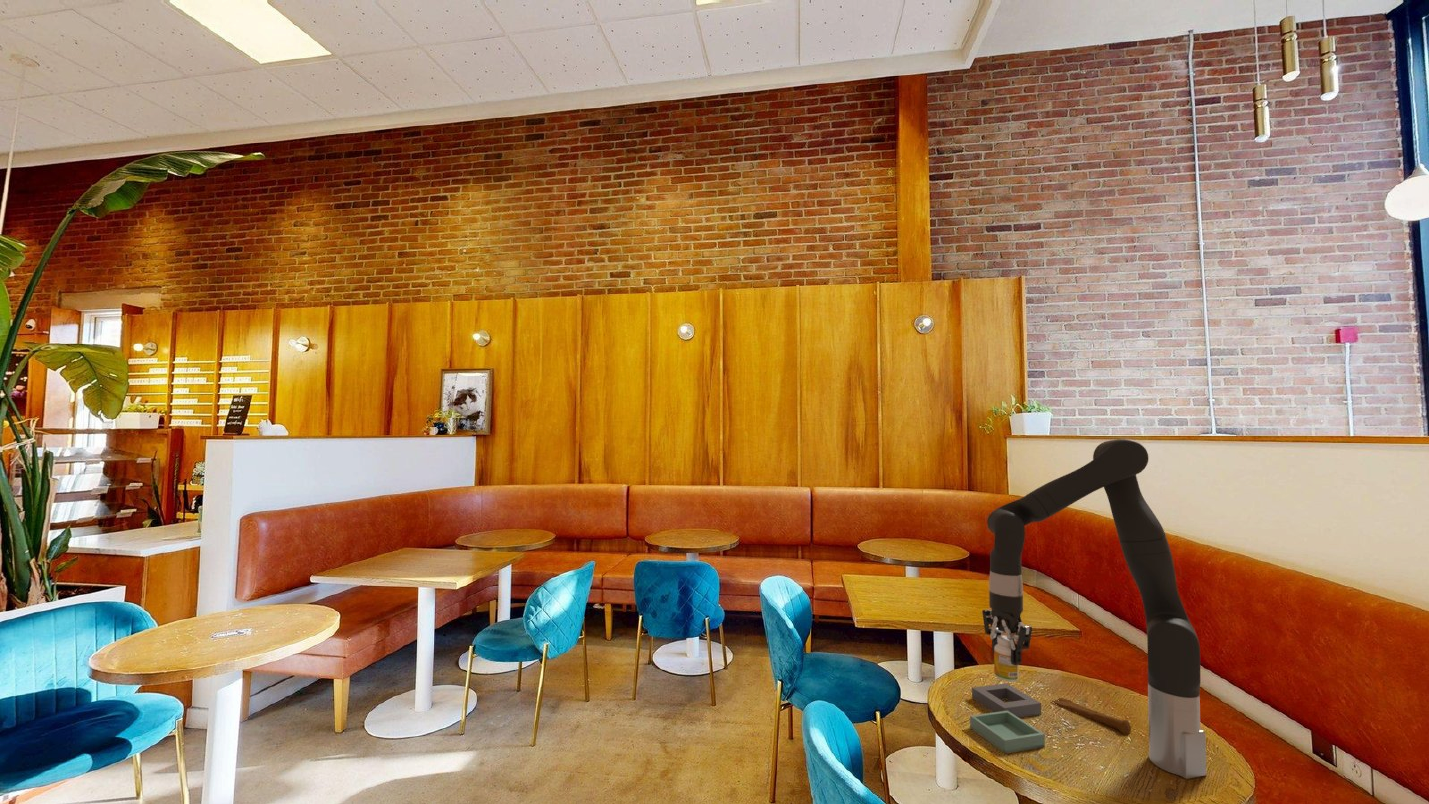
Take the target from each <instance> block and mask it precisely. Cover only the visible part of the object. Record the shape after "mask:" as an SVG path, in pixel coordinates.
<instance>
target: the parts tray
mask: <svg viewBox="0 0 1429 804" xmlns="http://www.w3.org/2000/svg"><path fill="white" fill-rule="evenodd" d="M969 716H970V717H969V720H970V721H969V728H970V729H971V730H972V731H974V732H975V733H976V734H978V735H979V736H981V737H982V738H983V739H985V740H986V741H987V742H989V744H992V745H993V746H994V745H995V746H994V747H995V748H997V749H998V748H999V749H998V750H999V751H1001V752H1002V751H1003V752H1002V753H1004V754H1005V753H1006V754H1011V753H1017V752H1022V751H1028V750H1029V751H1030V750H1034V749H1035V750H1036V749H1040V748H1045V747H1046V743H1045V742H1046V740H1045V739H1046V734H1045V733H1043V732H1042V731H1040V730H1039V729H1037V728H1036V727H1035V726H1032V725H1031V724H1030V723H1027V722H1026V721H1024V720H1023V719H1022V718H1018V717H1017V716H1015V715H1014V714H1012V713H1011V712H1009V711H1000V712H988V713H980V714H975V715H974V714H973V715H969Z"/></svg>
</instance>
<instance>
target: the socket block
mask: <svg viewBox="0 0 1429 804" xmlns="http://www.w3.org/2000/svg"><path fill="white" fill-rule="evenodd" d="M971 699H972V700H974V701H975V702H977V703H978V704H980V705H981V706H983V707H984V708H986V709H987V710H989V711H990V712H991V713H993V712H1000V711H1009V712H1011V713H1012V714H1014V715H1015V716H1017V717H1018V718H1020V719H1022V718H1027V717H1032V716H1034V715H1035V716H1039V715H1042V702H1040V701H1039V700H1036V699H1035V698H1033V697H1031V696H1030V695H1028V694H1027V693H1025V692H1023V691H1021V690H1019V689H1018V688H1016V687H1014V686H1012V685H1010V684H1009V683H1007V682H1005V683H997V684H990V685H983V686H982V685H981V686H976V687H975V686H974V687H971ZM1003 700H1007V701H1008V702H1004V701H1003Z"/></svg>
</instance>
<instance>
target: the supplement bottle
mask: <svg viewBox="0 0 1429 804" xmlns="http://www.w3.org/2000/svg"><path fill="white" fill-rule="evenodd" d="M997 643H998V644H996V645H995V647H994V654H993V655H994V656H993V658H994V659H993V664H994V667H993V669H994V671H993V674H994V676H995V677H996V678H997V679H998V680H1000V681H1005V682H1009V683H1011V682H1012V683H1015V682H1018V681H1019V677H1020V676H1019V670H1020V668H1019V667H1020V666H1019V665H1013V664H1012V663H1011V649H1012V648H1011V644H1010V641H1009V639H1007V636H1006V634H1004V635H1003V634H1002V635H999V636H997Z"/></svg>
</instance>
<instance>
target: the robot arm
mask: <svg viewBox="0 0 1429 804" xmlns="http://www.w3.org/2000/svg"><path fill="white" fill-rule="evenodd" d="M1148 463H1149V454H1148V450H1147V448H1146V447H1144V445H1142V444H1141V443H1140V442H1138V441H1136V440H1133V439H1129V438H1128V439H1127V438H1118V439H1113V440H1106V441H1104V442H1101V443H1099V444H1098V445H1097V446H1096V447H1095V449H1094V451H1093V455H1092V460H1091V461H1089V462H1088V463H1086V464H1084V465H1083V466H1080V468H1078V469H1075V470H1074V471H1071V472H1069V473H1067V474H1065V475H1062V476H1060V477H1057V478H1055V479H1053V480H1050V481H1049V482H1047V483H1045V484H1043V485H1041V486H1039V487H1037V488H1036V489H1034V490H1033V491H1030V492H1029V493H1027V494H1026V495H1024V496H1023V497H1021V498H1019V499H1016V500H1013V501H1011V502H1007V504H1004V505H1001V506H1000V507H997V508H996V509H994V510H993V511H992V512H991V513H990V514H989V515H988V516H987V519H986V520H987V521H986V524H987V525H986V526H987V528H988V529H989V531H990V532H991V533H992V534H994V543H993V548H992V549H991V550H990V554H989V563H990V564H989V579H988V587H989V588H988V598H989V599H988V600H989V601H988V604H989V605H988V606H989V609H983V610H982V611H981V612H982V619H983V627H984V632H985V634H986V635H989V637H990V639H991V650H992V654H993V655H994V647H995V645H996V644H998V643H997V636H999V635H1003V633H1005V635H1006V636H1007V639H1009V641H1010V644H1011V648H1012V649H1011V663H1012V664H1013V665H1021V664H1022V661H1023V660H1022V659H1023V658H1022V653H1023V650H1024V651H1025V650H1029V649H1030V644H1031V639H1032V638H1031V637H1032V633H1033V632H1032V631H1033V627H1032V626H1031V625H1029V624H1028V625H1026V624H1025V623H1023V621H1022V619H1021V617H1022V616H1021V614H1023V612H1024V585H1023V576H1022V573H1023V572H1022V570H1023V569H1022V555H1023V551H1024V545H1025V537H1026V528H1025V526H1027V525H1029V524H1031V523H1038V522H1043V521H1045V520H1047V519H1048V518H1050V517H1052V516H1054V515H1056V514H1057V513H1058V512H1061V511H1062V510H1064V509H1066V508H1067V507H1069V506H1071V505H1072V504H1074V503H1076V502H1078V501H1080V500H1082V499H1083V498H1085V497H1087V496H1089V495H1091V494H1092V493H1094V492H1096V491H1098V490H1101V489H1104V492H1105V494H1106V497H1107V500H1108V503H1109V507H1110V510H1111V514H1112V515H1111V516H1112V518H1113V522H1114V525H1115V528H1116V532H1117V537H1118V541H1119V544H1120V547H1121V551H1122V554H1123V555H1122V556H1123V557H1124V560H1125V563H1126V566H1127V568H1128V570H1129V572H1130V574H1131V576H1132V579H1133V580H1134V582H1135V584H1136V586H1137V589H1138V591H1139V593H1140V597H1141V601H1142V605H1143V610H1144V616H1145V622H1146V623H1145V624H1146V636H1147V637H1146V638H1147V639H1146V641H1147V692H1148V693H1147V699H1148V701H1147V703H1148V704H1147V706H1148V707H1147V708H1148V713H1147V714H1148V756H1149V757H1148V758H1149V761H1151V763H1152V764H1154V765H1155V766H1156V767H1158V768H1160V769H1161V770H1163V771H1166V772H1169V773H1170V774H1173V775H1177V776H1179V777H1182V778H1184V779H1186V780H1189V779H1193V778H1199V777H1203V776H1204V777H1205V776H1207V748H1206V747H1207V745H1206V741H1207V740H1206V738H1207V737H1206V734H1207V733H1206V732H1205V730H1202V729H1201V703H1200V700H1201V697H1200V696H1201V692H1200V690H1201V689H1200V688H1201V682H1202V681H1201V645H1200V641H1199V638H1198V635H1197V632H1196V630H1195V628H1194V627H1193V625H1192V623H1191V620H1190V619H1189V617H1188V616H1189V615H1187V611H1186V610H1185V607H1184V605H1183V602H1182V600H1181V598H1180V597H1181V596H1180V594H1179V591H1178V585H1177V577H1176V571H1175V570H1176V569H1175V565H1174V559H1173V556H1172V552H1171V547H1170V544H1169V541H1168V539H1167V535H1166V532H1165V529H1164V527H1163V526H1162V524H1161V522H1160V520H1159V519H1158V518H1157V516H1156V515H1155V513H1154V512H1153V510H1152V509H1151V507H1150V506H1149V504H1148V502H1147V501H1146V500H1145V498H1144V497H1143V494H1142V491H1141V489H1140V486H1139V481H1138V477H1137V475H1138V474H1140V473H1142V472H1143V471H1144V470H1145V468H1146V467H1147V465H1148ZM1013 634H1014V635H1013Z"/></svg>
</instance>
